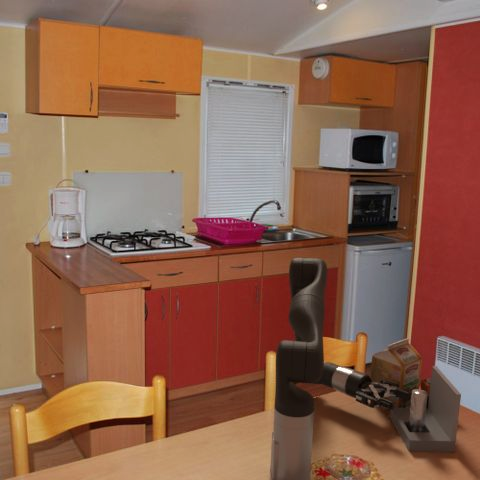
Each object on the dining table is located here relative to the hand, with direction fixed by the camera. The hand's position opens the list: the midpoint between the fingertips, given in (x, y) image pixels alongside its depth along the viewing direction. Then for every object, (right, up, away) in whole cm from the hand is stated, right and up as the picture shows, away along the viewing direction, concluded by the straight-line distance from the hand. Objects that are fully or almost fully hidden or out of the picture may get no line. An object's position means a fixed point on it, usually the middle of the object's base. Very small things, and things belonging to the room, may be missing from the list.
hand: (401, 401), depth 163 cm
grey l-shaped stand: (+5, -9, 0) cm, 10 cm away
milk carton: (+3, -5, +20) cm, 21 cm away
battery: (+13, -7, +14) cm, 20 cm away
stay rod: (+3, -9, -2) cm, 10 cm away
